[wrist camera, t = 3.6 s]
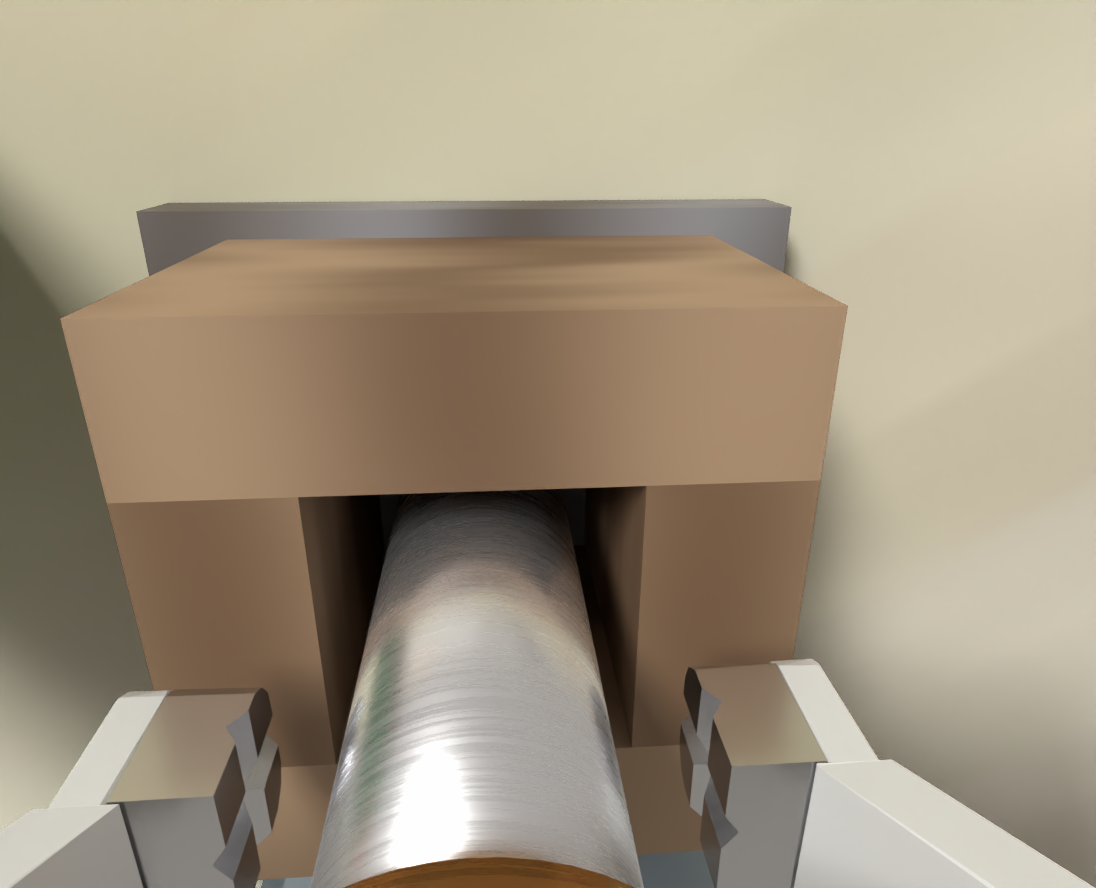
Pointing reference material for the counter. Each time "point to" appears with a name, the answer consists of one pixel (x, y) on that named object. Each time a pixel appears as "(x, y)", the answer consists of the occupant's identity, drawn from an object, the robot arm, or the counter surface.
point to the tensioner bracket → (459, 445)
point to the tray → (668, 878)
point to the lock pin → (478, 712)
